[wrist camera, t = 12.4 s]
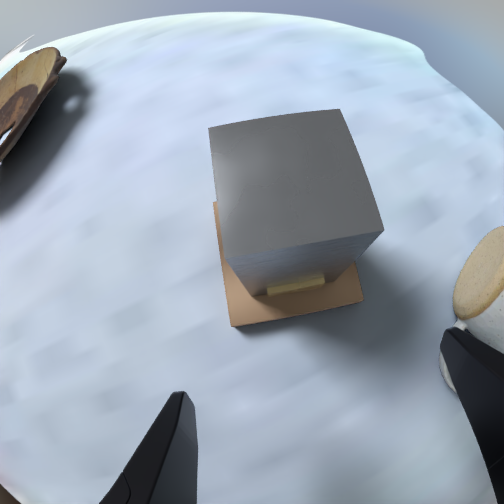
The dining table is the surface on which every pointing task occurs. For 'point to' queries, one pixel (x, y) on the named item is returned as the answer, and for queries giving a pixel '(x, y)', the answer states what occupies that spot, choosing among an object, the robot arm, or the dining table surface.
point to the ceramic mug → (481, 295)
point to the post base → (286, 305)
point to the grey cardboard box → (291, 200)
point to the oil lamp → (26, 92)
